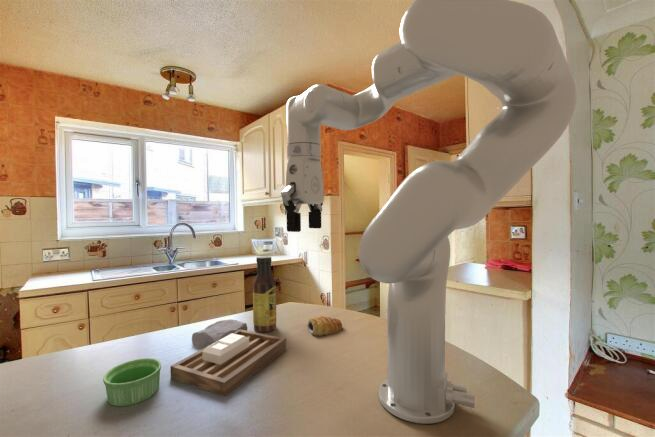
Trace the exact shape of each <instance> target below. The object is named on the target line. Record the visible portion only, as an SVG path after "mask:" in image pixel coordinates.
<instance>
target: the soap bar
mask: <svg viewBox="0 0 655 437" xmlns="http://www.w3.org/2000/svg"><path fill="white" fill-rule="evenodd" d="M248 347H249V338H247V337H246V336H242V335H238V334H233V333H231V334H229V335H228V336H226V337H224V338H222V339H220V340H218V341H216V342H215V343H213V344H211V345H209V346H207V347H206V348H205V349H204V350H203V351H202V355H203V360H205V361H209V362H212V363H216V364H219V365H221V364H223V363H224V362H226V361H227V360H229V359H230V358H232V357H234V356H235V355H237V354H238V353H240V352H241V351H243V350H244V349H246V348H248Z"/></svg>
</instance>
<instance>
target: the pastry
mask: <svg viewBox="0 0 655 437" xmlns="http://www.w3.org/2000/svg"><path fill="white" fill-rule="evenodd" d="M306 327H307V330H308V332H309V333H310V334H312V335H313V336H318V337H319V336H323V335H327V336H328V335H330V334H335V333H338V332H339V331H341V330H342V329H343V323H342V322H341V320H340V319H339V318H332V317H327V316H322V315H321V316H319V317H317V316H315V317H313V318H309V319H308V321H307V326H306Z"/></svg>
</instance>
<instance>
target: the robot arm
mask: <svg viewBox="0 0 655 437" xmlns="http://www.w3.org/2000/svg"><path fill="white" fill-rule="evenodd" d="M399 39H400V41H398V42H396V44H393V45H391V46H390V47H388V48H386V49H384V50H383V51H381V52H379V53H377V55H375V57H374V58H373V61H372V65H371V75H372V76H371V77H372V82H373V83H372V85H371V86H369V87H367V88H366V89H363V90H362V91H359V92H358V93H355V94H352V95H351V94H349V93H347V92H344V91H342V90H339V89H336V88H333V87H332V86H328V85H326V84H321V83H319V84H318V83H317V84H314V85H312V86H311V87H309V88H308V89H307V90H305V91H304V92H302V93H301V94H300V95H295V96H292V97H290V98H289V99H288V100H287V101H286V155H287V156H286V157H287V158H286V159H287V160H286V161H287V163H286V174H285V188H284V189H283V190H282V191H281V192H280V195H281V199H282V205H283V207H284V213H286V231H287V232H288V233H290V232H291V233H294V232H296V233H300V232H301V230H302V220H301V219H302V217H301V216H302V214H301V212H300V209H301V207H302V205H306V204H307V206H308V208H309V211H308V228H309V229H321V228H322V211H323V207H322V206H323V205H324V201H325V193H324V192H325V191H324V190H325V189H324V177H323V167H322V164H321V160H322V159H321V158H322V157H321V155H322V152H321V150H322V147H321V146H322V145H321V144H322V143H321V141H322V140H321V126H326V127H330V128H333V129H338V130H342V131H352V130H353V131H354V130H356V129H360V128H362V127H364V126H366V125H369V124H373V123H374V122H377V121H378V120H379V119H382V117H384V116H385V115H386V114H387V113H388V111H389V110H391V109H392V107H393V106H394V104H395V103H396V102H398V101H400V100H401V99H404V98H406V97H410V96H411V95H414V94H415V93H418V92H420V91H423V90H425V89H427V88H430V87H433V86H435V85H437V84H439V83H442V82H444V81H447V80H448V79H451V78H453V77H456V76H458V75H460V76H463V77H465V78H468V79H470V80H472V81H475V82H476V83H479V84H480V85H482V86H483V87H484V88H485V89H486V90H487V91H489V92H490V93H491V94H493V96H495V98H498V100H499V101H500V103H501V105H502V106H501V107H502V108H501V109H500V111H499V113H498V114H497V115H496V116H495V117H494V118H493V119H492V120H490V121H489V122H488V123H487V124H486V125H485V126H483V128H481V129H480V130H479V131H478V133H476V135H475V136H474V137H473V139H472V140H471V141H470V142H469V144H468V145H467V146H466V147H465V148H464V149H463V150H462V151H461V152H460V154H459V155H458V156H457V157H456V158H455V159H454V160H452V161H449V160H437V161H436V160H435V161H431V162H427V163H425V164H423V165H421V166H419V167H418V168H416V169H414V170H413V171H412V172H410V173H409V174H408V175H407V176H406V177H405V178H404V179H403V180H402V181H401V183H400V184H399V185H398V186H397V188H396V189H395V190H394V192H393V193H392V194H391V195H390V196H389V198H388V199H387V201H386V202H385V203H384V204H383V205H382V207H381V208H380V209H379V210H378V212H377V213H376V215H375V216H374V217H373V218H372V220H371V221H370V222H369V224H368V225H367V226H366V228H365V230H364V231H363V234H362V235H361V237H360V240H359V244H358V258H359V263H360V266H361V268H362V270H363V271H364V272H365V273H366V275H367V276H369V278H371V279H373V280H374V281H377V282H378V283H382V284H389V285H388V291H387V309H386V310H387V314H386V315H387V316H386V317H387V323H386V324H387V326H386V327H387V329H386V330H387V338H386V339H387V378H385V379H384V380H382V382H381V383H380V385H379V387H378V399H379V402H380V403H381V405H382V407H383V408H385V409H386V410H387V411H388V412H389V413H390V414H392V415H394V416H395V417H397V418H400V420H404V421H407V422H411V423H415V424H422V425H423V424H424V425H426V424H428V425H429V424H435V423H441V422H443V421H445V420H447V419H448V418H450V417H451V416H452V415H453V414H454V411H455V405H456V404H457V405H460V406H465V407H468V408H471V409H475V394H473V393H469V392H468V391H467V389H468V386H467V385H461V384H456V383H455V384H454V383H453V382H452V381H451V380H450V381H449V372H447V371H446V313H447V312H446V310H447V308H446V306H447V305H446V304H447V302H446V301H447V300H446V299H447V298H446V297H447V282H448V275H449V274H448V273H449V270H450V269H449V267H450V261H451V243H450V239H449V236H450V235H451V234H452V233H453V232H455V231H457V230H462V229H466V228H470V227H472V226H474V225H477V224H478V223H479V222H481V221H482V220H483V219H484V218H485V217H486V216H488V214H489V212H490V211H492V209H493V208H494V207H495V206H496V205H497V204H498V203H499V202H500V201H501V200H502V199H503V198H504V197H505V196H506V195H507V194H508V193H509V192H510V191H511V190H512V189H513V188H514V187H515V186H516V185H517V184H518V183H519V182H520V181H521V180H522V179H523V178H524V177H525V175H526V174H527V173H528V172H529V171H530V170H532V168H533V167H534V166H535V165H536V164H537V163H539V161H540V160H541V159H542V158H543V157H544V156H545V155H546V154H547V153H548V152H549V151H550V150H551V148H553V146H554V145H555V144H556V143H557V142H558V141H559V139H560V138H561V137H562V135H564V133H565V131H566V130H567V128H568V127H569V125H570V122H571V120H572V118H573V116H574V113H575V108H576V104H577V103H576V102H577V89H576V84H575V83H576V82H575V80H574V77H573V74H572V71H571V68H570V67H569V63H568V62H567V58H566V57H565V54H564V51H563V47H562V46H561V44H560V42H559V39H558V36H557V33H556V30H555V28H554V26H553V23H552V22H551V21H550V20H549V18H548V17H547V16H546V14H544V13H543V12H542V11H540V10H539V9H538V8H536V7H534V6H531V5H529V4H527V3H523V2H519V1H514V0H414V1H413V2H412V3H411V4H410V5H409V6H408V8H407V9H406V10H405V12H404V15H403V16H402V17H401V22H400V26H399Z"/></svg>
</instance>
